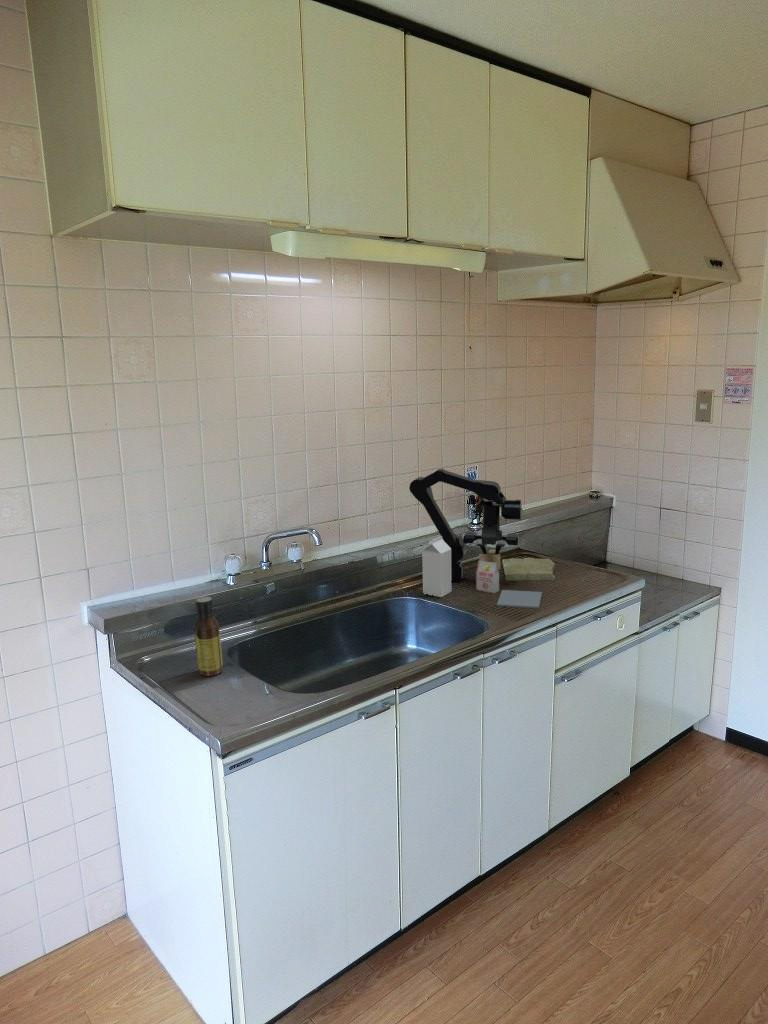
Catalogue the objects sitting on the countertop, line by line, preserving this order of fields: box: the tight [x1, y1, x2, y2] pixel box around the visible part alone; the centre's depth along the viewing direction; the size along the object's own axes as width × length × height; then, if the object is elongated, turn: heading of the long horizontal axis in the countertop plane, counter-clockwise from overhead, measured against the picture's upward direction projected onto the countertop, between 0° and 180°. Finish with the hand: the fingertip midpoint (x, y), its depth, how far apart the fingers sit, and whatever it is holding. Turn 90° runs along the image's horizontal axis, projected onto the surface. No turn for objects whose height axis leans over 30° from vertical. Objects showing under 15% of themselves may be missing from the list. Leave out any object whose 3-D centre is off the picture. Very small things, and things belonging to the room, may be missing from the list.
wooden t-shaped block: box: [478, 548, 501, 570], centre depth 255 cm, size 7×11×5 cm, turn 165°
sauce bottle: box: [193, 596, 224, 677], centre depth 185 cm, size 7×6×20 cm
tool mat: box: [496, 589, 543, 610], centre depth 236 cm, size 13×15×1 cm
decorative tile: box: [501, 557, 556, 581], centre depth 266 cm, size 19×20×4 cm
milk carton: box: [421, 535, 453, 598], centre depth 243 cm, size 7×7×19 cm
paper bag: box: [475, 560, 500, 595], centre depth 246 cm, size 4×7×10 cm, turn 53°
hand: (491, 562), depth 254 cm, fingers closed on wooden t-shaped block, 2 cm apart
